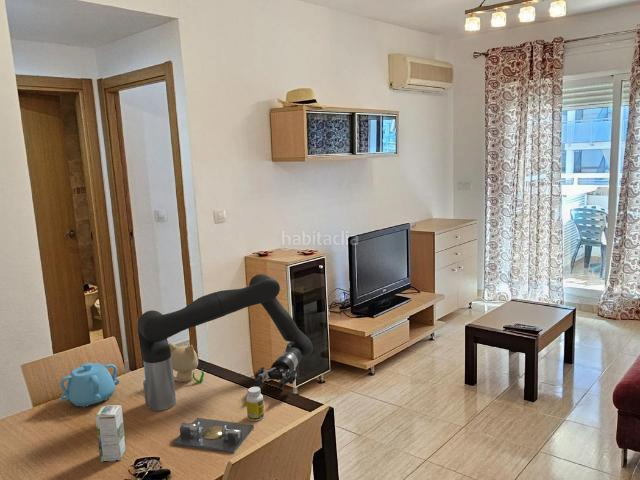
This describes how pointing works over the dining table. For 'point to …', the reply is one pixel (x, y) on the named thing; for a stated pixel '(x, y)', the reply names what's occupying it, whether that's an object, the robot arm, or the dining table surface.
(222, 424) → the base
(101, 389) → the decorative pot
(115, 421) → the syrup box
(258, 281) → the robot arm
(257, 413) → the supplement bottle
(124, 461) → the dining table surface
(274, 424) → the dining table surface
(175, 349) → the kitten
